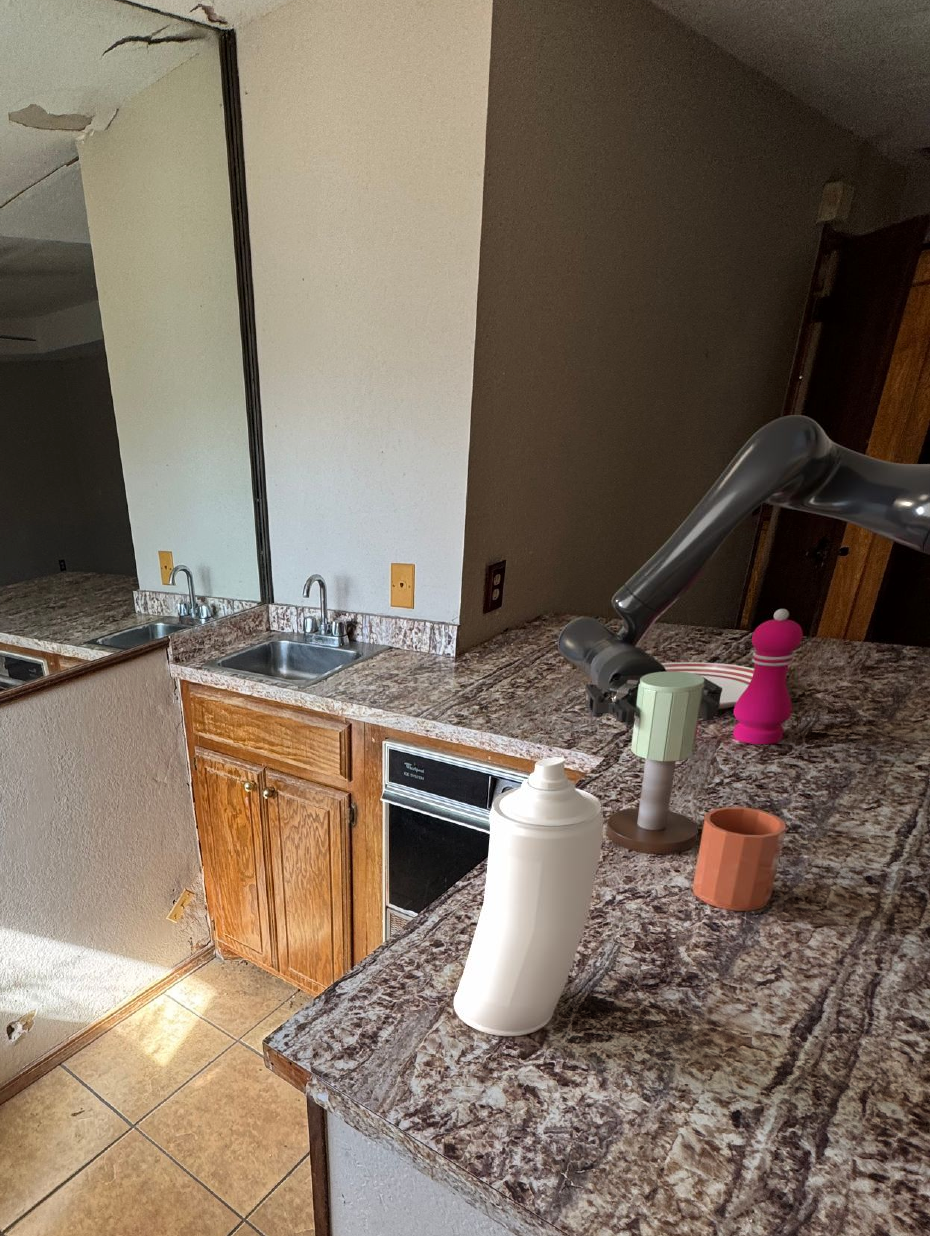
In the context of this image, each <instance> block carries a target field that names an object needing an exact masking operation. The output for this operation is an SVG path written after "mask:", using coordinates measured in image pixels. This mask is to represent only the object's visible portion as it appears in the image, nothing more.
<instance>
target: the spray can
mask: <svg viewBox="0 0 930 1236" xmlns="http://www.w3.org/2000/svg"><path fill="white" fill-rule="evenodd" d="M602 808H603V807H602V804H601V802H600V800H599V799H598V798H597V797H596V796H595V795H593V794H592V793H589V792H587V791H585V790H582V789H580V788H576V784H575V782H573V781H572V780H570V779H569V776H568V775H567V774H566V773H565V758H564V757H559V756H552V757H546V758H543V759H539V760H537V761H536V762H535V764H534V771H533V772H531V773H530V774H529V777H528V778H526V779H524V780H523V781H522V783H521V786H518V787H514V788H511V789H508V790H505V791H504V792H502V793H500V794H499V795H497V796H496V797H495V798H494V799H493V801H492V806H491V809H490V811H489V817H488V818H489V842H488V843H489V844H488V855H487V869H486V877H485V878H486V879H485V887H484V897H483V903H482V907H481V911H480V914H479V918H478V920H477V923H476V928H475V932H474V935H473V939H472V942H471V946H470V949H469V952H468V956H467V959H466V962H465V966H464V969H463V973H462V976H461V979H460V982H459V985H458V988H457V991H456V993H455V995H454V998H453V1008H454V1011H455V1013H456V1014H457V1016H458V1018H459V1019H460V1020H461V1021H462V1022H463V1023H465V1024H466V1025H467V1026H469V1027H471V1028H473V1029H474V1030H476V1031H479V1032H481V1033H484V1034H488V1035H491V1036H498V1037H520V1036H524V1035H525V1036H526V1035H529V1034H533V1033H535V1032H537V1031H539V1030H541V1029H542V1028H544V1027H545V1026H546V1025H547V1024H548V1023H549V1022H550V1021H551V1019H552V1018H553V1015H554V1012H555V1009H556V1007H557V1005H558V1003H559V1001H560V999H561V996H562V994H563V993H564V992H563V991H564V990H565V987H566V984H567V981H568V979H569V976H570V973H571V969H572V966H573V964H574V960H575V958H576V954H577V951H578V948H579V946H580V942H581V939H582V937H583V933H584V930H585V927H586V925H587V921H588V918H589V913H590V908H591V903H592V897H593V892H594V887H595V882H596V878H597V872H598V866H599V861H600V856H601V851H602V846H603V840H604V839H603V838H604V836H603V835H604V815H603V812H602Z"/></svg>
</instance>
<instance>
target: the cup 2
mask: <svg viewBox="0 0 930 1236" xmlns="http://www.w3.org/2000/svg"><path fill="white" fill-rule="evenodd" d="M786 831H787V827H786V822H785V821H784V820H783V819H781V818H780V817H779V816H778V815H776V814H773V813H770V812H768V811H765V810H763V809H757V808H750V807H745V806H724V807H718V808H713V809H711V810H710V811H708V812H706V813H705V814H704V818H703V824H702V829H701V834H700V841H699V847H698V852H697V856H696V857H697V858H696V864H695V869H694V875H693V883H692V892H693V894H694V895H695V896H696V897H697V899H699V900H701V902H704V903H705V904H708V905H710V906H713V907H716V908H719V909H723V910H727V911H736V912H750V911H757V910H760V909H763V908H764V907H766V906H767V904H769V901H770V899H771V898H772V897H771V896H772V892H773V889H774V888H773V887H774V883H775V879H776V875H777V870H778V865H779V862H780V857H781V853H782V848H783V845H784V841H785V835H786Z"/></svg>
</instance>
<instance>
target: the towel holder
mask: <svg viewBox="0 0 930 1236" xmlns="http://www.w3.org/2000/svg"><path fill="white" fill-rule="evenodd" d="M644 760H645V761H644V768H643V776H642V783H641V791H640V799H639V806H638V807H634V808H633V807H632V808H626V809H622V810H619V811H616V812H614V813H612V814H611V815H610V816H609V817H608V819H607V822H606V829H605V830H606V831H605V832H606V833H605V834H606V836H607V837H608V838H609V840H610V841H611V842H613V843H614V844H616V845H618V846H619V847H621V848H623V849H627V850H630V851H632V852H633V851H634V852H638V853H642V854H643V853H644V854H651V855H670V854H671V855H672V854H676V853H677V854H678V853H682V852H685V851H687V850H689V849H691V848H692V847H694V846H695V844H696V843H697V838H698V832H699V828H698V826H697V824H696V823H695V822H694V820H692V819H691V818H689V817H687V816H685V815H683V814H681V813H678V812H675V811H671V810H669V809H670V802H671V796H672V791H673V783H674V777H675V776H674V775H675V769H676V764H677V761H656V760H648V759H644Z"/></svg>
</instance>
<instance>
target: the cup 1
mask: <svg viewBox="0 0 930 1236" xmlns="http://www.w3.org/2000/svg"><path fill="white" fill-rule="evenodd" d="M703 691H704V678H703V677H701V676H699V675H697V674H693V673H687V672H674V671H669V672H656V673H651V674H647V675H644V676H643V677H641V679H640V684H639V687H638V696H637V704H636V712H635V714H634V723H633V729H632V738H631V747H630V751H631V752H632V754H634V756H636V757H639V758H642V759H644V760H646V759H648V760H656V761H676V762H677V761H682V760H685V759H688V758H691V757H692V756H693V754H694V753H695V748H696V747H695V746H696V741H697V735H698V728H699V721H700V710H701V704H702V698H703Z"/></svg>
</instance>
